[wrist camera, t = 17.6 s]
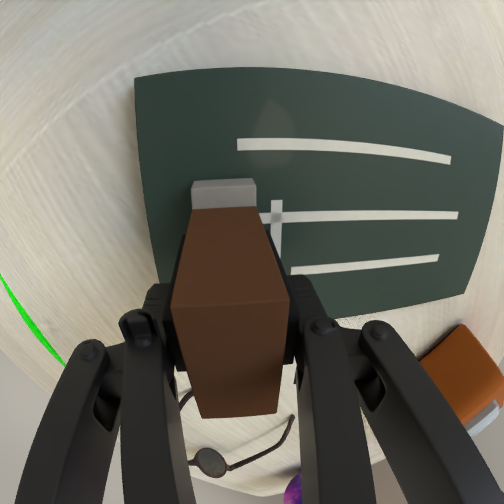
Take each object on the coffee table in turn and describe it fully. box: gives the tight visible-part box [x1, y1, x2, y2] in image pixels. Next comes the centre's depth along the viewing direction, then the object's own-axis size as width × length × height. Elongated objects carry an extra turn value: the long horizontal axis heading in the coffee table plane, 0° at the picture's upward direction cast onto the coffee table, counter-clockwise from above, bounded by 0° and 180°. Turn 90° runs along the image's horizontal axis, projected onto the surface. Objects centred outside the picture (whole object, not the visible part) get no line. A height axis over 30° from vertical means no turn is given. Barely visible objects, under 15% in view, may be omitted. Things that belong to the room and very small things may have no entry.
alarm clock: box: [419, 324, 504, 436], centre depth 25 cm, size 24×8×11 cm, turn 47°
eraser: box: [170, 178, 290, 419], centre depth 12 cm, size 8×3×8 cm, turn 0°
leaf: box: [0, 275, 66, 367], centre depth 19 cm, size 1×14×1 cm, turn 14°
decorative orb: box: [284, 472, 302, 504], centre depth 36 cm, size 15×15×15 cm
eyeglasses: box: [179, 390, 295, 478], centre depth 26 cm, size 15×15×5 cm
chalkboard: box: [134, 67, 504, 319], centre depth 16 cm, size 26×16×1 cm, turn 91°
